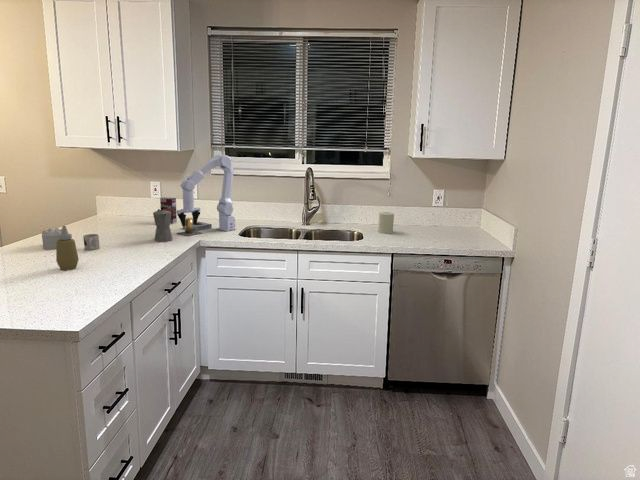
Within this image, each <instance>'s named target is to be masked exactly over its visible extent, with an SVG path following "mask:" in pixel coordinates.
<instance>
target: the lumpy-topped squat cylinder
mask: <svg viewBox="0 0 640 480" xmlns="http://www.w3.org/2000/svg"><path fill="white" fill-rule="evenodd" d="M61 232H62V228H61V229H60V228H58V227H55V228H54V229H52V228H48V229H47V230H46V229H44V230H42V231H41V239H42V246H43V247H42V248H43V250H45V251H53V250H56V242H57V241H58V240H60V239H59V236H58V235H60V234H61Z"/></svg>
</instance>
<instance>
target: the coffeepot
mask: <svg viewBox="0 0 640 480" xmlns="http://www.w3.org/2000/svg"><path fill="white" fill-rule="evenodd" d="M163 208H164V207H161V206H160V207H159V208H158V209H157V211H156V210H155V211H153V212H152V215H153V221H154V223H155V226H156V228H155V235H154V241H155V242H158V243H167V242H171V241H173V234H172V230H171V227H170V225H171V224H170V221H171V212H170V211H165V210H163Z"/></svg>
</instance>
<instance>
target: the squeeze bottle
mask: <svg viewBox="0 0 640 480" xmlns="http://www.w3.org/2000/svg"><path fill="white" fill-rule="evenodd" d="M61 229H62V232H61V234H60V235H58V236H59V239H60V240H58V241H57V242H56V249H55V250H56V259H55V261H56V263H57V266H58V267H59V269H60V271H61V270H62V271H71V270H75V269H77V266H78V264H79V261H80V259H79V255H78V250H77V245H76V240H75V239H73V238H72V237H73V236H72V233H69V231H68V229H67V226H66V225H62V226H61Z"/></svg>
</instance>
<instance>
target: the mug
mask: <svg viewBox="0 0 640 480" xmlns="http://www.w3.org/2000/svg"><path fill="white" fill-rule="evenodd" d="M82 238H83V247H84V251H98V250H99V249H100V248H101V247H100V239H99V238H100V235H99V234H96V233H89V234H83V237H82Z"/></svg>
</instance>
